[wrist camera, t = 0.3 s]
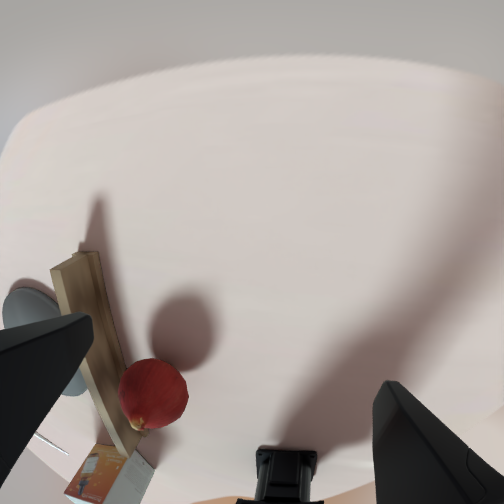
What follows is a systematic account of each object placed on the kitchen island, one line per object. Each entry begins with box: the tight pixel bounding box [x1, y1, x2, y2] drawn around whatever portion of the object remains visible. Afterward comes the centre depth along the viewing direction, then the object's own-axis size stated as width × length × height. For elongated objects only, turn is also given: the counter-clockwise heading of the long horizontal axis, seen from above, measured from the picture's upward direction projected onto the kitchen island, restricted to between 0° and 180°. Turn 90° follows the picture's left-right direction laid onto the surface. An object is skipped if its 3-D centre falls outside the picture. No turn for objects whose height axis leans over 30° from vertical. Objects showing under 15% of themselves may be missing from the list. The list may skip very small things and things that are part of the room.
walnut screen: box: [50, 252, 149, 459], centre depth 26 cm, size 22×2×4 cm, turn 2°
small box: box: [64, 444, 155, 504], centre depth 29 cm, size 8×6×10 cm
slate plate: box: [2, 287, 88, 396], centre depth 29 cm, size 14×14×1 cm
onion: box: [118, 358, 189, 431], centre depth 23 cm, size 6×6×8 cm
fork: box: [34, 432, 69, 455], centre depth 38 cm, size 3×20×2 cm, turn 72°
